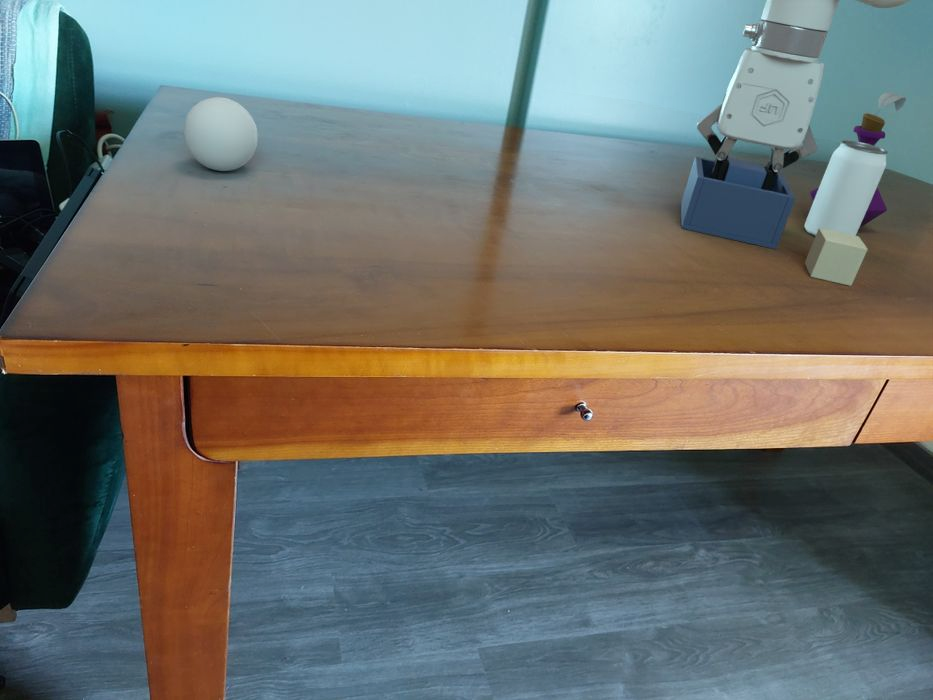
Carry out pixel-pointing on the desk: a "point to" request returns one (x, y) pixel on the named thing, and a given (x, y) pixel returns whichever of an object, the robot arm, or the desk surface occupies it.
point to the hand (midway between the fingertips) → (736, 193)
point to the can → (846, 188)
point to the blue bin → (735, 207)
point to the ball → (220, 134)
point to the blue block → (745, 173)
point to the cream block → (835, 256)
